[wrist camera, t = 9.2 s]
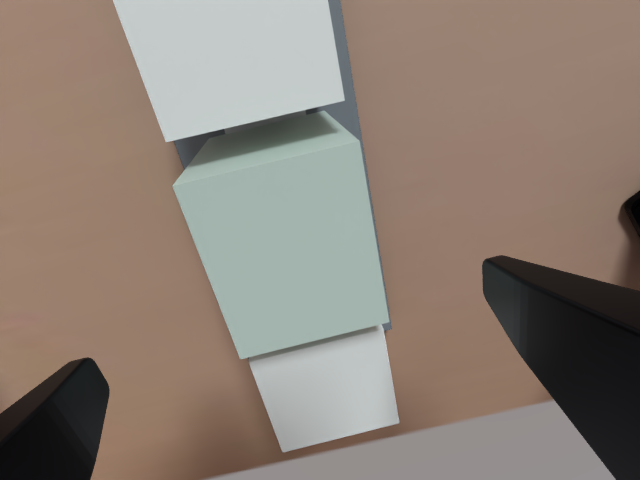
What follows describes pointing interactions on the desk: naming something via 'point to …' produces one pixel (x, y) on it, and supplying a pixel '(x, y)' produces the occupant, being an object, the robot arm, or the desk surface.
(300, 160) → the block
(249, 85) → the rail board
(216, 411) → the desk surface
